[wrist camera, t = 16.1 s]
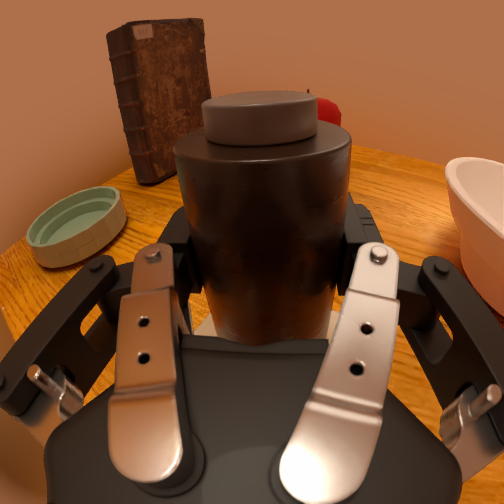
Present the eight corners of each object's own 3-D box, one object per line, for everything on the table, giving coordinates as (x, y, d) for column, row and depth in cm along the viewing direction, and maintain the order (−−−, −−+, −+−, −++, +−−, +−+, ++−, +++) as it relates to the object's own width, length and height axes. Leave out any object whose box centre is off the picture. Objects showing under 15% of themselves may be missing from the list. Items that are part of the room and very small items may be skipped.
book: (149, 189, 39) (118, 21, 23) (125, 182, 42) (95, 36, 27) (224, 150, 49) (209, 16, 34) (197, 147, 52) (180, 25, 37)
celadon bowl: (29, 285, 24) (14, 260, 22) (47, 228, 33) (38, 208, 31) (131, 248, 27) (120, 219, 25) (125, 199, 37) (119, 176, 35)
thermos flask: (251, 422, 12) (187, 125, 4) (216, 351, 16) (155, 105, 8) (335, 381, 13) (392, 105, 6) (291, 321, 17) (290, 85, 9)
